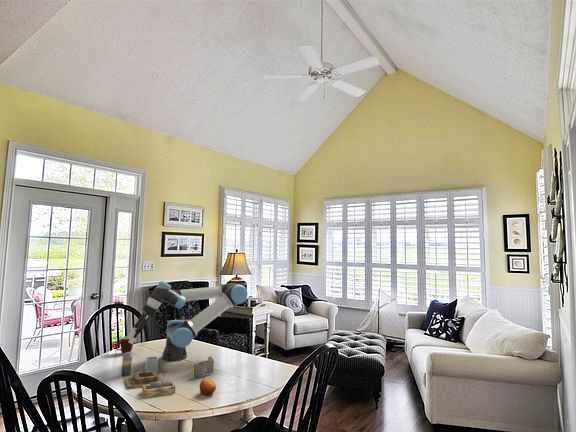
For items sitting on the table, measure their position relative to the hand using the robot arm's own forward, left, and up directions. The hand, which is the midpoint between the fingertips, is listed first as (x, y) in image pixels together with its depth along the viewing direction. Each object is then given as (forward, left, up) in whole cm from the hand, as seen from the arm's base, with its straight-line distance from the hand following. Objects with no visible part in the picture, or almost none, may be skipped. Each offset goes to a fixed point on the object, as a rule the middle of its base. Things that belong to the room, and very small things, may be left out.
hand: (129, 340), depth 201 cm
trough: (-11, +39, -16) cm, 43 cm away
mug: (-1, -32, -16) cm, 36 cm away
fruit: (-32, +49, -16) cm, 60 cm away
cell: (+1, +8, -16) cm, 18 cm away
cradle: (-7, +22, -16) cm, 28 cm away
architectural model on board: (-37, +24, -16) cm, 47 cm away
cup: (-12, +7, -16) cm, 21 cm away
